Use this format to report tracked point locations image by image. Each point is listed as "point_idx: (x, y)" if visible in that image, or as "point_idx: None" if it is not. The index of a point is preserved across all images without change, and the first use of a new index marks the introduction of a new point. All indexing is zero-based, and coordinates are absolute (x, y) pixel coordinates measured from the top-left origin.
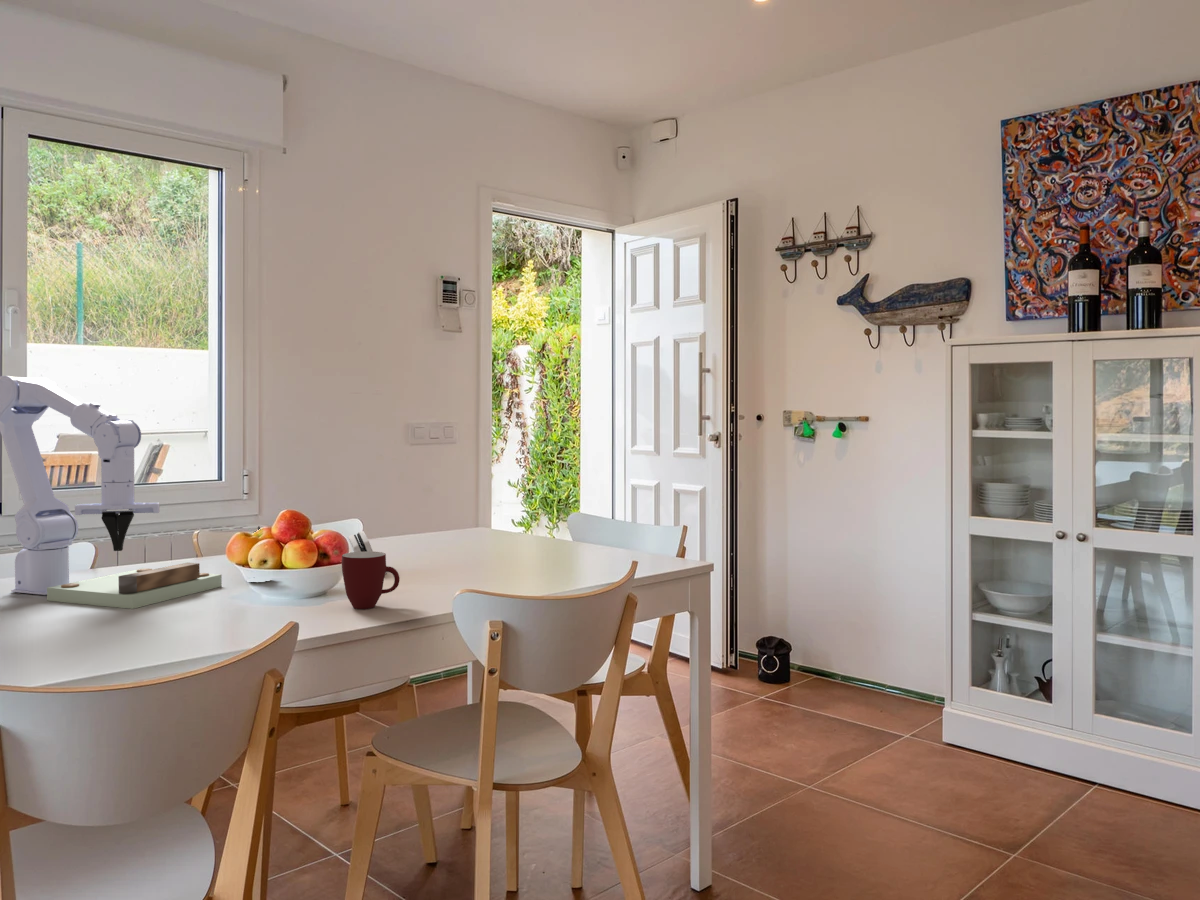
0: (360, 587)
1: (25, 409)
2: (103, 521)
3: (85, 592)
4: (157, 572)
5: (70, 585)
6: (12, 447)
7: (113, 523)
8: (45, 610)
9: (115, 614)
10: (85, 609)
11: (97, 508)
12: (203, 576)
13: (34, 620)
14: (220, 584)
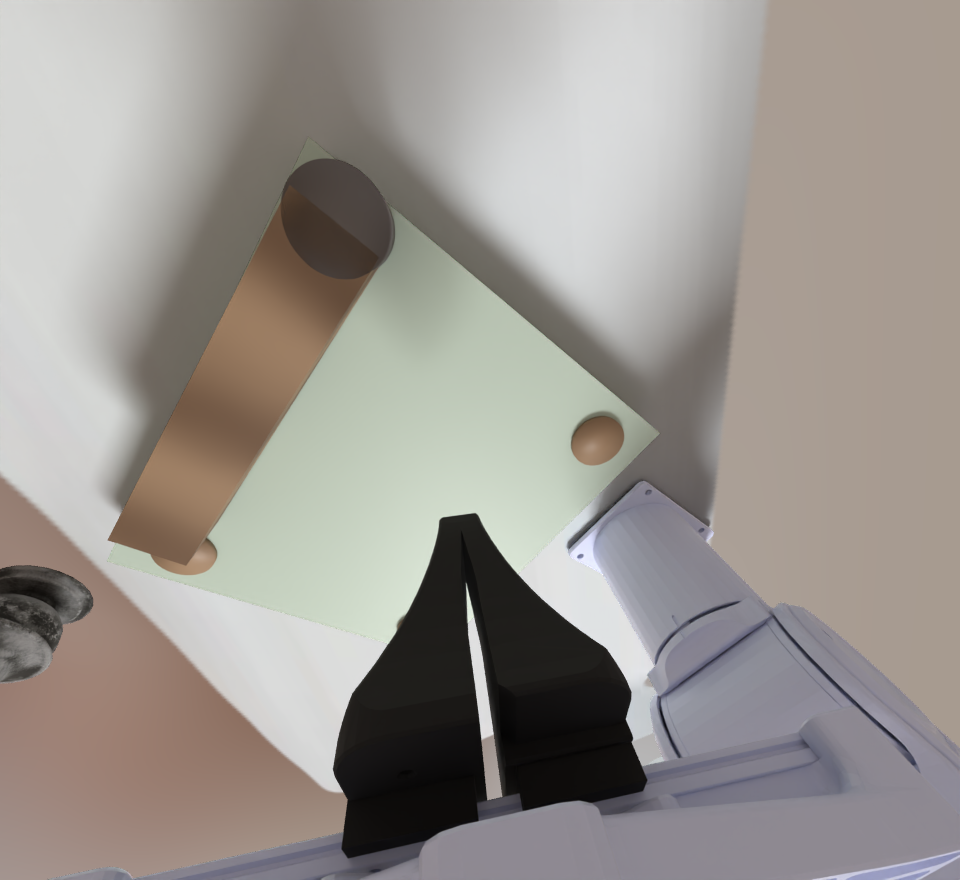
0: None
1: None
2: (596, 642)
3: (539, 332)
4: (214, 333)
5: (597, 432)
6: None
7: (506, 642)
8: (642, 248)
9: (364, 17)
10: (515, 218)
11: (739, 817)
12: None
13: (682, 11)
14: None
